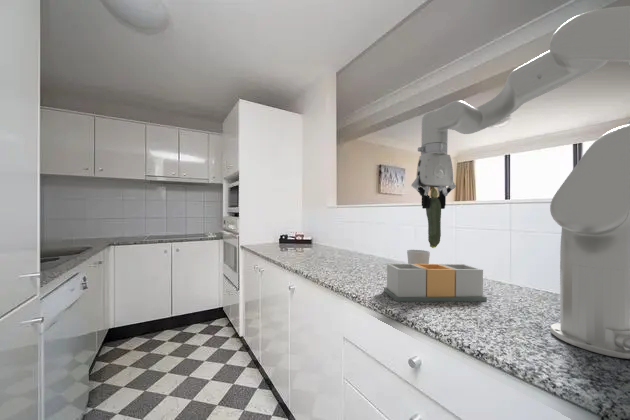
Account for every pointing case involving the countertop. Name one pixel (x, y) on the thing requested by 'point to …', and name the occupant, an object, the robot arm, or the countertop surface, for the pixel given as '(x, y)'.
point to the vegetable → (434, 219)
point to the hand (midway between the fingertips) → (433, 208)
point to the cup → (418, 256)
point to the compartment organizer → (434, 282)
